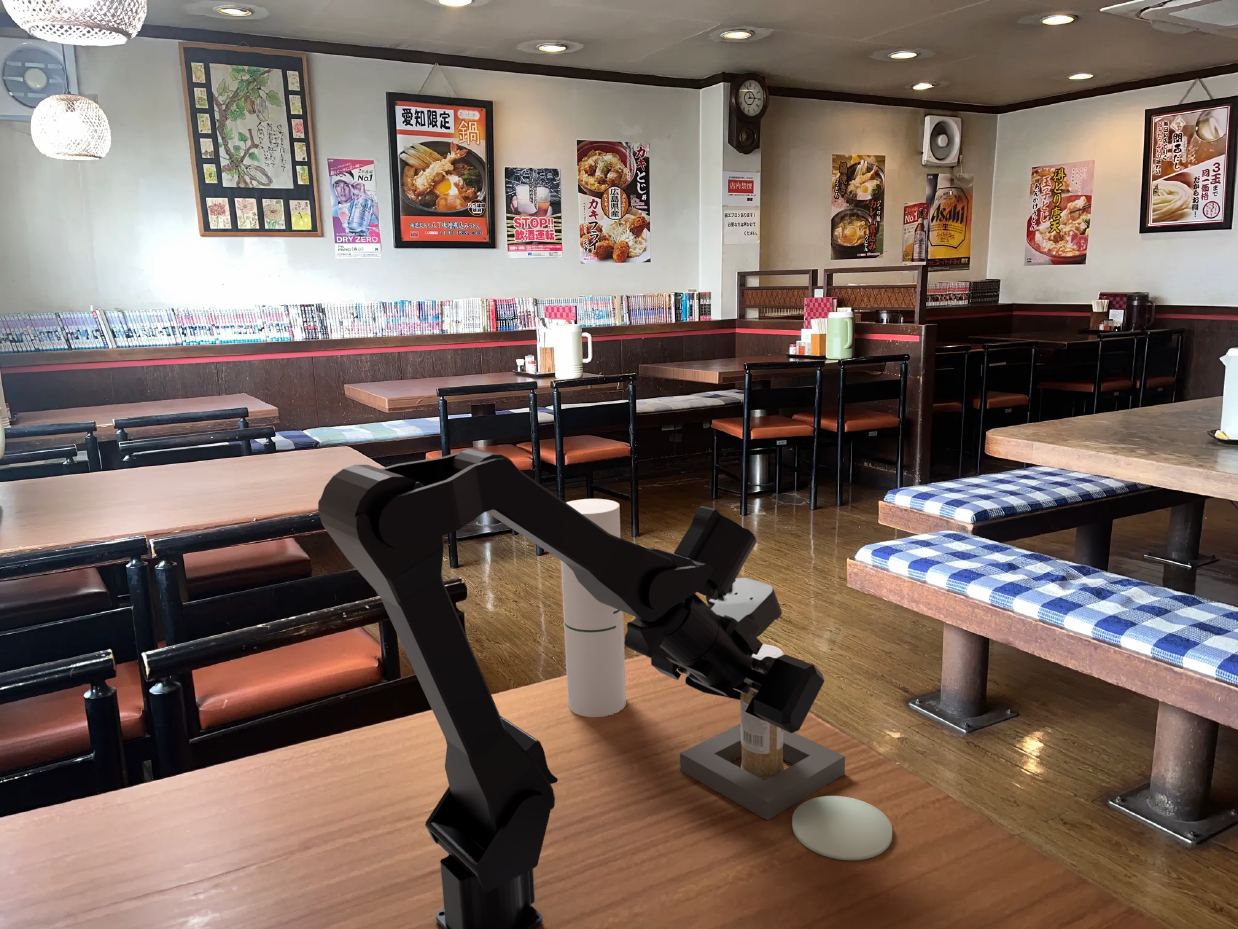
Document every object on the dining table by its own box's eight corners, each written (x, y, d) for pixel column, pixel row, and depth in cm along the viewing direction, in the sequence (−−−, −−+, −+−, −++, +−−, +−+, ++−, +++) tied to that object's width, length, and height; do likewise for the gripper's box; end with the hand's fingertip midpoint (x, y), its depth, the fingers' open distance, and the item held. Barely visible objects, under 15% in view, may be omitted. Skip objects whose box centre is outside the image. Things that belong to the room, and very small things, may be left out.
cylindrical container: (636, 697, 109) (630, 502, 104) (605, 722, 103) (597, 516, 98) (589, 685, 113) (581, 496, 108) (556, 708, 107) (546, 509, 102)
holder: (767, 820, 83) (767, 801, 83) (680, 770, 92) (679, 753, 92) (844, 773, 91) (845, 756, 90) (756, 731, 100) (756, 715, 99)
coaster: (852, 874, 75) (852, 868, 75) (772, 827, 82) (772, 821, 82) (911, 831, 81) (911, 825, 81) (831, 790, 88) (831, 785, 88)
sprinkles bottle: (793, 774, 91) (793, 652, 88) (760, 789, 88) (760, 664, 86) (763, 756, 95) (762, 638, 92) (730, 769, 92) (729, 649, 90)
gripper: (812, 584, 77) (882, 665, 86) (668, 542, 91) (741, 615, 100) (752, 695, 74) (831, 767, 83) (612, 634, 88) (693, 700, 97)
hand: (770, 705), depth 91 cm, fingers closed on sprinkles bottle, 4 cm apart
